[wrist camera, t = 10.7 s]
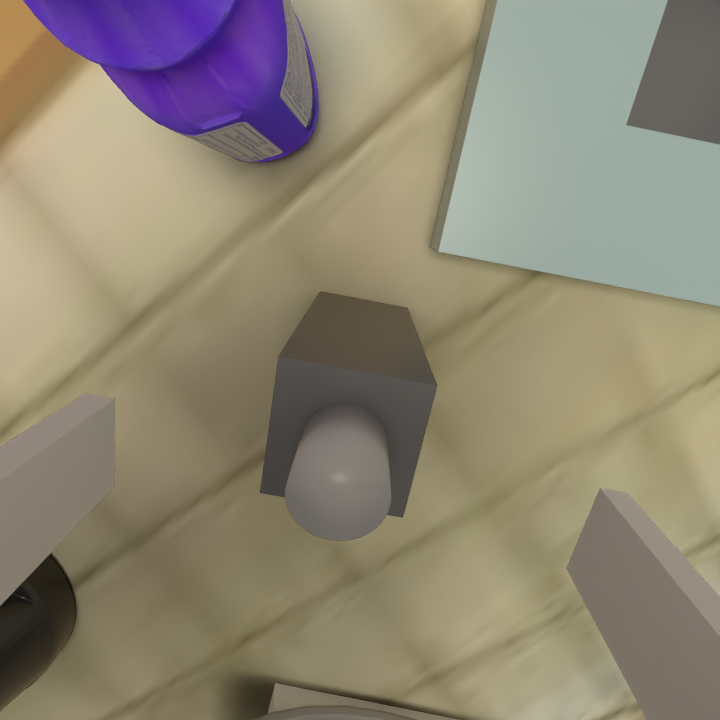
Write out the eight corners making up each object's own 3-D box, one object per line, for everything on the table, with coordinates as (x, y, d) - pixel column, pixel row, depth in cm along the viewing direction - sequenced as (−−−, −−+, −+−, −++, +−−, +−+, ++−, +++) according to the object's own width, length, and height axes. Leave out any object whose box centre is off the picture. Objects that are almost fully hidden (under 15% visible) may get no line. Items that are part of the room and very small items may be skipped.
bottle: (179, 18, 21) (-494, -662, 5) (292, -20, 21) (-18, -947, 4) (231, 178, 23) (-104, 94, 7) (335, 147, 23) (243, -26, 6)
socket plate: (430, 247, 24) (438, 251, 21) (545, -255, 18) (578, -343, 15) (780, 315, 25) (833, 328, 22) (1007, -145, 19) (1121, -209, 16)
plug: (307, 373, 27) (234, 557, 12) (320, 291, 25) (254, 393, 11) (389, 388, 27) (410, 585, 13) (407, 307, 25) (453, 429, 11)
